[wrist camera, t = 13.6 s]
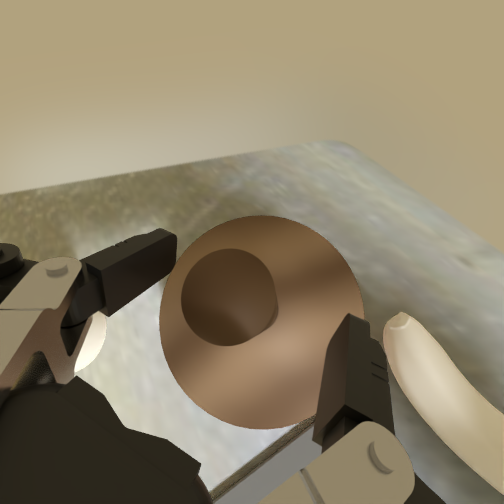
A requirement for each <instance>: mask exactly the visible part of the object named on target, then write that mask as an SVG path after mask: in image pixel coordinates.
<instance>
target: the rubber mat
mask: <svg viewBox="0 0 504 504" xmlns="http://www.w3.org/2000/svg"><path fill="white" fill-rule="evenodd" d="M314 424H315V422H314V423H313V424H311V425H310V426H309V427H307V428H306V429H305V430H304V431H302V432H301V433H300V434H298V435H297V436H296V437H294V438H293V439H292V440H291V441H289V442H288V443H287V444H285V445H284V446H283V447H282V448H280V449H279V450H278V451H276V452H275V453H274V454H273V455H271V456H270V457H269V458H267V459H266V460H265V461H264V462H262V463H261V464H260V465H258V466H257V467H256V468H254V469H253V470H252V471H251V472H249V473H248V474H247V475H245V476H244V477H243V478H242V479H240V480H239V481H238V482H236V483H235V484H234V485H233V486H231V487H230V488H229V489H227V490H226V491H225V492H224V493H222V494H221V495H220V496H218V497H217V498H216V499H214V500H213V504H257V503H258V502H260V501H261V500H262V499H263V498H265V497H266V496H267V495H268V494H270V493H271V492H272V491H273V490H275V489H276V488H277V487H279V486H280V485H281V484H282V483H284V482H285V481H286V480H287V479H289V478H290V477H291V476H293V475H294V474H295V473H296V472H298V471H299V470H301V469H303V468H305V467H306V466H307V465H309V464H310V463H311V462H312V461H314V460H315V459H316V458H317V457H319V456H320V455H321V451H322V446H320V445H319V444H317V443H315V442H314V441H312V436H313V430H314ZM414 473H415V472H414ZM415 474H416V473H415Z"/></svg>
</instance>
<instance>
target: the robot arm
mask: <svg viewBox="0 0 504 504" xmlns="http://www.w3.org/2000/svg"><path fill="white" fill-rule="evenodd" d="M176 249H177V237H176V235H175V234H173V233H171V232H168V231H166V230H164V229H161V228H159V229H156V230H154V231H152V232H150V233H148V234H142V235H137V236H133V237H131V238H129V239H126V240H124V242H120V243H117V244H115V246H111V247H108V248H106V249H104V250H102V251H99V252H97V253H95V254H93V255H90V256H88V257H86V258H84V259H81V260H79V261H78V260H77V259H74V258H70V257H56V258H51V259H47V260H44V261H41V262H36V261H31V260H26V259H23V257H22V255H21V252H20V249H19V248H18V247H17V246H15V245H12V244H6V243H0V504H213V501H212V498H211V496H210V494H209V492H208V490H207V488H206V486H205V484H204V483H203V481H202V480H201V478H200V477H199V475H198V473H199V470H200V467H201V463H199V462H198V461H197V460H195V459H194V458H192V457H191V456H190V455H188V454H187V453H185V452H184V451H182V450H181V449H180V448H178V447H177V446H175V445H174V444H173V443H171V442H170V441H168V440H167V439H164V438H160V437H156V436H153V435H149V434H146V433H142V432H139V431H135V430H132V429H128V428H126V427H125V426H124V425H123V424H122V422H121V421H120V419H119V418H118V416H117V415H116V413H115V412H114V410H113V408H112V407H111V405H110V404H109V402H108V401H107V399H106V397H105V396H104V395H103V394H102V393H101V392H99V391H98V390H96V389H95V388H94V387H92V386H91V385H89V384H88V383H87V382H85V381H84V380H82V379H81V378H79V377H78V376H75V377H74V369H75V364H76V361H77V358H78V356H79V353H80V351H81V348H82V346H83V343H84V341H85V338H86V336H87V333H88V331H89V328H90V326H91V323H92V321H93V314H95V313H96V312H98V311H99V312H101V313H102V314H104V315H106V316H108V317H110V316H111V315H112V314H114V313H115V312H116V311H118V310H119V309H121V308H122V307H123V306H125V305H126V304H128V303H129V302H130V301H132V300H133V299H135V298H136V297H137V296H139V295H140V294H141V293H143V292H144V291H146V290H147V289H148V288H150V287H151V286H153V285H154V284H155V283H157V282H158V281H160V280H161V279H162V278H164V277H165V276H166V275H168V274H169V273H170V272H171V271H172V270H173V268H174V266H175V263H176ZM388 382H389V379H388V372H387V361H386V355H385V353H384V351H383V349H382V347H381V345H380V343H379V342H378V341H376V340H374V339H372V338H370V325H369V322H368V321H366V320H363V319H361V318H359V317H357V316H354V315H352V314H350V313H348V314H347V315H346V316H345V317H344V319H343V320H342V322H341V324H340V325H339V327H338V328H337V330H336V331H335V333H334V335H333V336H332V338H331V340H330V342H329V344H328V347H327V350H326V356H325V362H324V368H323V374H322V380H321V386H320V393H319V399H318V405H317V411H316V417H315V424H314V430H313V436H312V441H314V442H315V443H317V444H319V445H320V446H322V451H321V455H320V456H319V457H317V458H316V459H315V460H314V461H312V462H311V463H310V464H309V465H307V466H306V467H305V468H303V469H301V470H299V471H298V472H296V473H295V474H294V475H293V476H291V477H290V478H289V479H287V480H286V481H285V482H284V483H282V484H281V485H280V486H279V487H277V488H276V489H275V490H273V491H272V492H271V493H270V494H268V495H267V496H266V497H265V498H263V499H262V500H261V501H260V502H258V503H257V504H446V503H445V502H444V501H443V500H442V499H441V498H440V497H439V496H438V495H437V494H435V493H434V492H433V491H432V490H431V489H430V488H429V487H428V486H427V485H426V484H425V483H424V482H423V481H422V480H421V479H420V478H419V477H418V476H417V475H416V474H415V473H414V470H413V467H412V464H411V461H410V458H409V456H408V454H407V452H406V451H405V449H404V447H403V446H402V445H401V443H400V442H399V440H398V439H397V438H396V437H395V432H394V423H393V414H392V406H391V397H390V388H389V384H388Z"/></svg>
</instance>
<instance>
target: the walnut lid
mask: <svg viewBox="0 0 504 504" xmlns="http://www.w3.org/2000/svg"><path fill="white" fill-rule="evenodd" d="M348 313H350V314H352V315H354V316H357V317H359V318H361V319H363V320H365V319H364V308H363V301H362V297H361V293H360V290H359V286H358V284H357V282H356V279H355V277H354V275H353V273H352V271H351V269H350V267H349V266H348V264H347V262H346V261H345V259H344V258H343V257H342V256H341V254H340V253H339V252H338V250H337V249H336V248H335V247H334V246H333V245H332V244H331V243H330V242H329V241H327V240H326V239H325V238H324V237H322V236H321V235H320V234H318V233H317V232H315V231H314V230H312V229H310V228H309V227H307V226H304V225H302V224H300V223H298V222H295V221H292V220H289V219H285V218H280V217H275V216H262V215H261V216H248V217H242V218H237V219H234V220H231V221H228V222H225V223H223V224H221V225H218V226H216V227H214V228H213V229H211V230H209V231H208V232H206V233H205V234H203V235H202V236H201V237H199V238H198V239H197V240H196V241H195V242H193V243H192V244H191V245H190V246H189V247H188V248H187V250H186V251H185V252H184V253H183V254H182V256H181V257H180V258H179V260H178V261H177V263H176V264H175V266H174V268H173V270H172V272H171V274H170V276H169V278H168V280H167V283H166V286H165V288H164V292H163V296H162V300H161V306H160V316H159V325H160V337H161V344H162V348H163V351H164V355H165V358H166V361H167V363H168V366H169V368H170V370H171V372H172V374H173V376H174V378H175V379H176V381H177V383H178V384H179V385H180V387H181V388H182V389H183V391H184V392H185V393H186V395H187V396H188V397H189V398H190V399H191V400H192V401H193V402H194V403H195V404H196V405H198V406H199V407H200V408H202V409H203V410H204V411H206V412H207V413H209V414H210V415H212V416H214V417H216V418H218V419H220V420H221V421H224V422H227V423H229V424H232V425H235V426H239V427H244V428H249V429H275V428H282V427H286V426H290V425H293V424H297V423H299V422H301V421H303V420H306V419H308V418H310V417H312V416H313V415H315V414H316V411H317V405H318V399H319V393H320V386H321V380H322V374H323V368H324V362H325V356H326V350H327V347H328V344H329V342H330V340H331V338H332V336H333V335H334V333H335V331H336V330H337V328H338V327H339V325H340V324H341V322H342V320H343V319H344V317H345V316H346V315H347V314H348Z"/></svg>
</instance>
